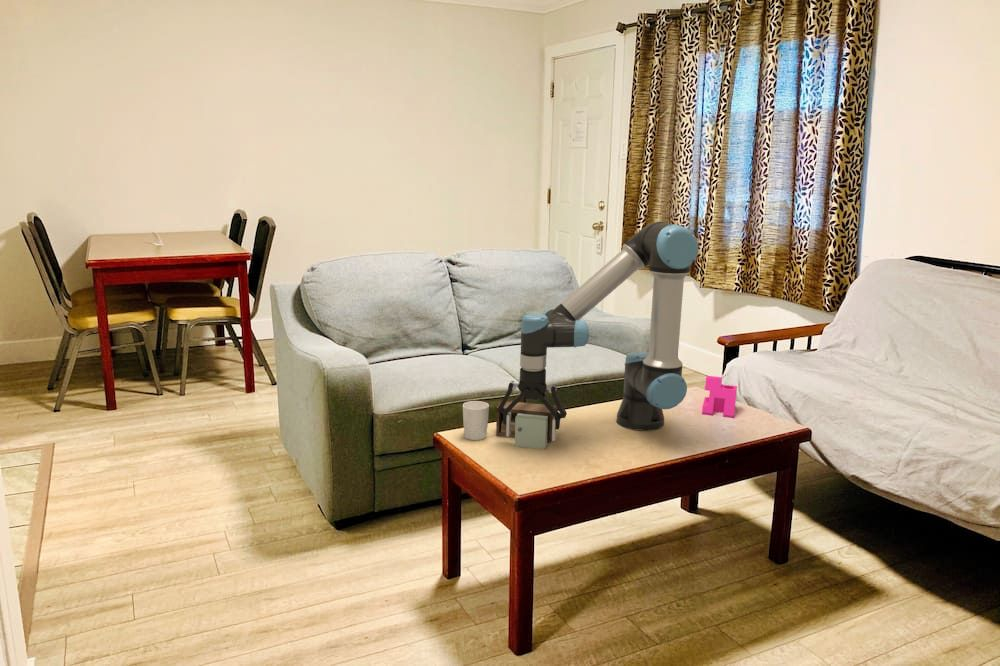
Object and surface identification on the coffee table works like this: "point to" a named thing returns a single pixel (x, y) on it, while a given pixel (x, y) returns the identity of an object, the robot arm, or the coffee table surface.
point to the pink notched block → (719, 397)
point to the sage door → (531, 431)
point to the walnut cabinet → (523, 409)
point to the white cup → (475, 419)
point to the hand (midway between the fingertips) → (531, 437)
